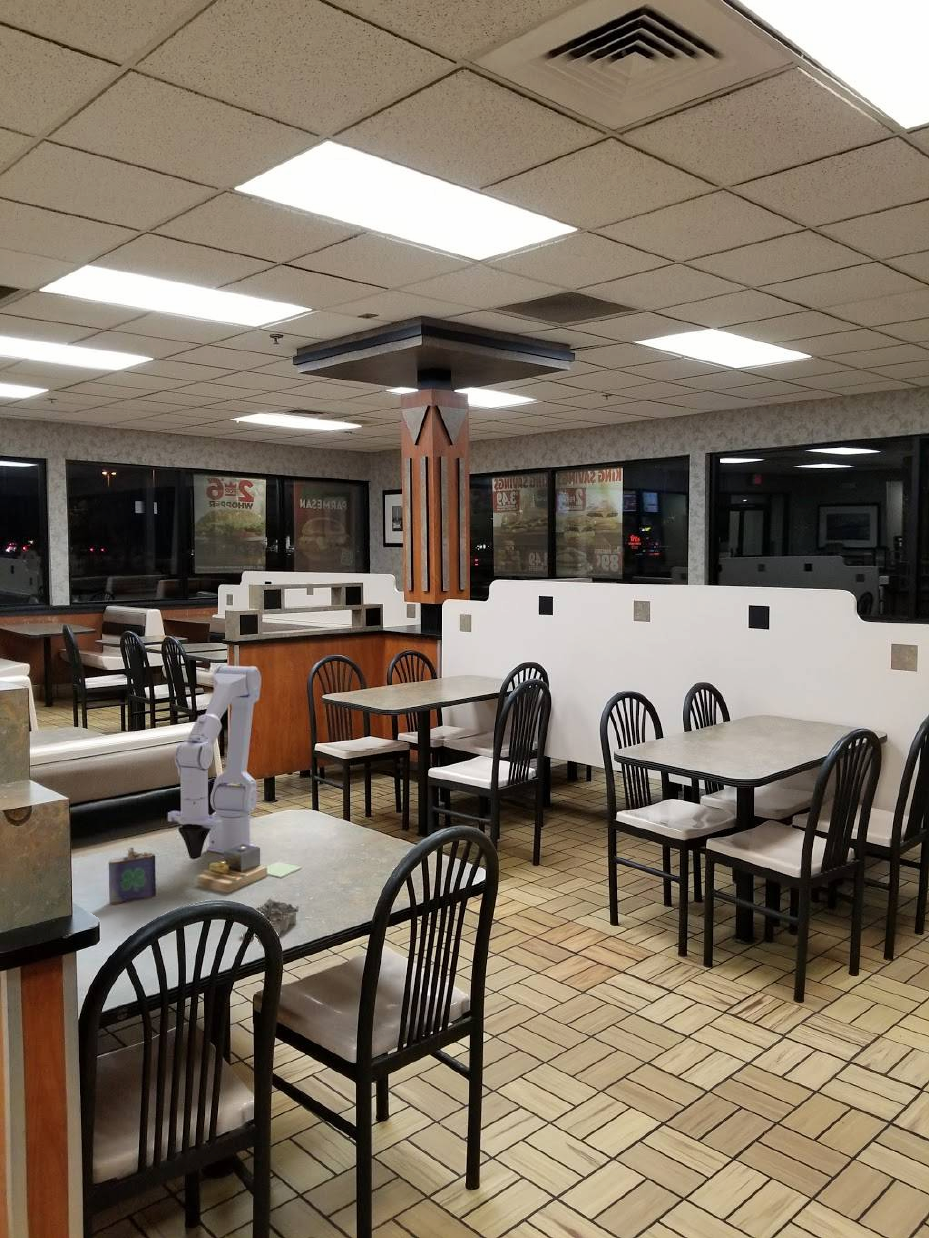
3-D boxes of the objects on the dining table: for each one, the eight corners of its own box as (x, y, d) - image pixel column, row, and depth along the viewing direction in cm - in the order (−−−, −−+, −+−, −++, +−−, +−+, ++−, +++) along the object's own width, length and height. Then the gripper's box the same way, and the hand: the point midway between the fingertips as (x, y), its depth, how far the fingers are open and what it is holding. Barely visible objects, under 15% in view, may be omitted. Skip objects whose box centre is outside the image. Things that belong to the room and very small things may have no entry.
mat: (256, 872, 211) (256, 870, 211) (277, 863, 217) (277, 861, 217) (280, 877, 207) (280, 876, 207) (301, 868, 213) (301, 867, 213)
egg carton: (273, 942, 175) (273, 921, 174) (238, 936, 177) (238, 915, 177) (302, 920, 185) (302, 900, 184) (269, 915, 187) (269, 895, 187)
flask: (110, 906, 191) (109, 854, 190) (107, 901, 193) (106, 850, 192) (157, 897, 196) (156, 847, 195) (154, 893, 198) (153, 843, 197)
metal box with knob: (224, 869, 207) (223, 849, 206) (243, 861, 212) (242, 841, 211) (241, 873, 204) (241, 853, 204) (260, 865, 209) (260, 845, 209)
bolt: (209, 873, 204) (209, 860, 204) (215, 870, 206) (214, 858, 205) (223, 876, 202) (223, 863, 202) (228, 874, 204) (228, 861, 203)
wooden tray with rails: (197, 885, 202) (197, 873, 202) (236, 868, 213) (236, 857, 213) (228, 893, 198) (228, 881, 198) (267, 875, 208) (267, 864, 208)
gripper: (156, 796, 206) (157, 856, 207) (205, 805, 199) (206, 868, 200) (181, 789, 212) (181, 848, 213) (229, 798, 205) (229, 859, 206)
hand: (195, 857), depth 207 cm, fingers closed
